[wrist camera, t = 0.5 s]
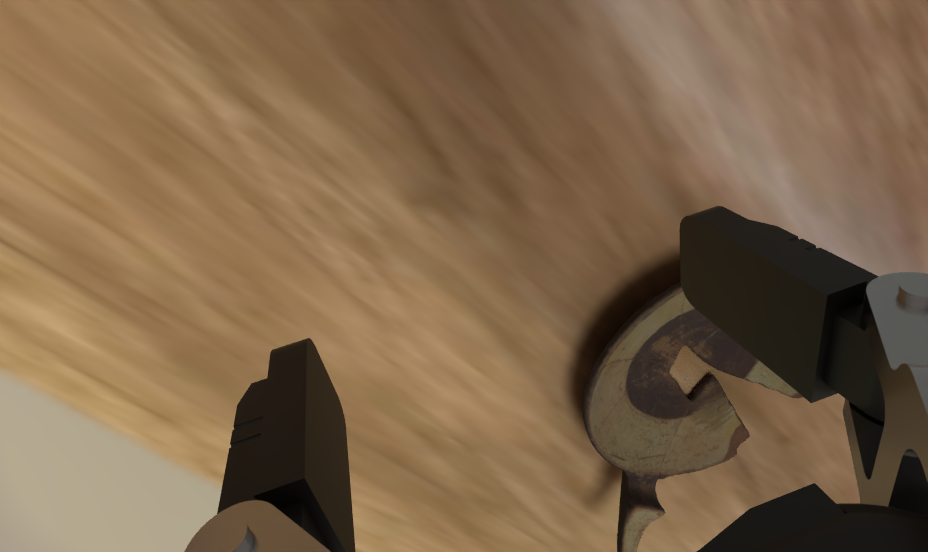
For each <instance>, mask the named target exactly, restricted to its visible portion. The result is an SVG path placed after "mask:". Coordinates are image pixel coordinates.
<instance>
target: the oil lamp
mask: <svg viewBox="0 0 928 552" xmlns="http://www.w3.org/2000/svg"><path fill="white" fill-rule="evenodd" d="M684 345H686V346H688V347H689V348H691V349H692V350H693V351H694V353H695V354H696V355H698V356H699V358H701V359H702V360H703V361H704V362H706V363H707V364H709V365H710V366H712V367H714V368H716V369H717V370H720V371H723V372H724V373H727V374H730V375H733V376H736V377H738V378H742V379H745V380H748V381H750V382H754V383H759V384H761V385H763V386H764V387H766V388H769V389H773V390H776V391H779V392H781V393H783V394H785V395H787V396H790V397H792V398H801V397H803V396H802V395H801V394H799V393H798V392H797V391H796V390H795V389H793V388H792V387H791V386H790V385H788V384H787V383H786V382H785V381H784V380H782V379H781V378H780V377H779V376H777V375H776V374H775V373H774V372H772V371H771V370H770V369H769V368H768V367H766V366H765V365H764V364H763V363H761V362H760V361H759V360H758V359H757V358H755V357H754V356H753V355H752V354H750V353H749V352H748V351H747V350H746V349H744V348H743V347H742V346H741V345H739V344H738V343H737V342H736V341H734V340H733V339H732V338H731V337H730V336H728V335H727V334H726V333H725V332H723V331H722V330H721V329H720V328H719V327H717V326H716V325H715V324H714V323H712V322H711V321H710V320H709V319H708V318H706V317H705V316H704V315H703V314H701V313H700V312H699V311H698V310H696V309H695V308H694V307H693V306H692V305H691V304H690V303H689V301H688V300H687V298H686V296H685V294H684V292H683V289H682V286H681V281H680V282H678V283H677V284H675V285H673V286H672V287H670V288H668V289H667V290H665V291H664V292H662V293H660V294H659V295H657V296H656V297H654V298H653V299H652V300H650V301H649V302H648V303H647V304H645V305H644V306H643V307H642V308H640V309H639V310H638V311H637V312H636V313H635V314H634V315H632V316H631V317H630V318H629V319H628V320H627V321H626V322H625V323H624V324H623V325H622V326H621V328H620V329H619V330H618V331H617V333H616V334H615V335H614V336H613V338H612V339H611V340H610V342H609V343H608V344H607V346H606V347H605V348H604V350H603V351H602V353H601V354H600V356H599V357H598V359H597V360H596V362H595V364H594V366H593V367H592V369H591V372H590V374H589V377H588V380H587V384H586V387H585V390H584V395H583V418H584V423H585V427H586V431H587V434H588V436H589V439H590V441H591V443H592V444H593V446H594V448H595V449H596V450H597V452H598V453H599V454H600V455H601V456H602V457H603V458H604V459H605V460H607V461H608V462H609V463H611V464H612V465H614V466H616V467H618V468H620V469H622V483H621V495H620V506H619V522H618V534H617V552H636V551H637V548H638V544H639V541H640V538H641V536H642V534H643V531H644V530H645V528H646V527H647V526H648V525H649V524H650V523H651V522H652V521H654V520H656V519H658V518H660V517H661V516H663V515H664V513H665V511H664V509H663V508H662V506H661V505H660V503H659V502H658V500H657V496H656V495H657V494H656V492H655V486H656V481H657V480H658V479H665V478H666V477H669V476H673V475H680V474H684V473H690V472H696V471H699V470H703V469H706V468H708V467H711V466H714V465H717V464H720V463H722V462H725V461H727V460H729V459H730V458H732V457H734V456H735V455H736V454H737V448H738V446H739V445H740V444H741V443H742V442H744V441H745V440H746V439H747V438H749V436H750V435H749V432H748V431H747V429H746V428H745V426H744V424H743V422H742V421H741V419H740V418H739V417H738V415H737V413H736V411H735V409H734V407H733V406H732V404H731V403H730V401H729V400H728V399H727V397H726V394H725V392H724V391H723V389H722V387H721V385H720V384H719V382H718V381H717V379H716V378H715V377H714V375H710V376H707V377H706V378H705V380H704V381H702V382H701V383H699V385H698V387H696V389H694V391H693V394H692V396H691V398H687V397H686V395H685V394H684V393H683V391H682V390H681V388H680V386H679V384H678V382H677V381H675V380H674V379H673V377H672V376H671V375H670V373H669V371H670V369H671V366H672V365H673V364H674V361H675V359H677V358H676V357H677V356H678V353H679V351H680V349H681V348H682V347H683V346H684ZM686 379H688V377H687V378H686ZM684 380H685V379H684Z"/></svg>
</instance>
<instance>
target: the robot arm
mask: <svg viewBox="0 0 928 552" xmlns="http://www.w3.org/2000/svg"><path fill="white" fill-rule="evenodd" d="M680 279H681V286H682V289H683V292H684V294H685V296H686V298H687V300H688V301H689V303H690V304H691V305H692V306H693V307H694V308H695V309H696V310H698V311H699V312H700V313H701V314H703V315H704V316H705V317H706V318H708V319H709V320H710V321H711V322H712V323H714V324H715V325H716V326H717V327H719V328H720V329H721V330H722V331H723V332H725V333H726V334H727V335H728V336H730V337H731V338H732V339H733V340H734V341H736V342H737V343H738V344H739V345H741V346H742V347H743V348H744V349H746V350H747V351H748V352H749V353H750V354H752V355H753V356H754V357H755V358H757V359H758V360H759V361H760V362H761V363H763V364H764V365H765V366H766V367H768V368H769V369H770V370H771V371H772V372H774V373H775V374H776V375H777V376H779V377H780V378H781V379H782V380H784V381H785V382H786V383H787V384H788V385H790V386H791V387H792V388H793V389H795V390H796V391H797V392H798V393H799V394H801V395H802V396H803V397H804V398H806V399H807V400H808V401H809V402H810V403H813V402H816V401H818V400H821V399H824V398H826V397H829V396H832V395H834V394H837V393H839V394H840V395H842V396H843V397H844V398H845V403H844V408H843V416H844V421H845V425H846V430H847V435H848V440H849V445H850V450H851V455H852V460H853V465H854V469H855V474H856V479H857V484H858V489H859V494H860V504H836V503H835V502H834V501H833V500H832V499H830V498H829V497H828V496H827V495H826V494H825V493H824V492H823V491H822V490H821V489H820V488H819V487H818V486H817V485H816V484H815V483H814V484H811V485H809V486H806V487H804V488H801V489H799V490H796V491H793V492H791V493H788V494H786V495H783V496H781V497H778V498H776V499H773V500H771V501H768V502H766V503H763V504H761V505H758V506H756V507H753V508H751V509H749V510H748V511H747V512H745V513H744V514H743V515H742V516H740V517H739V518H738V519H737V520H735V521H734V522H733V523H732V524H731V525H729V526H728V527H727V528H726V529H724V530H723V531H722V532H721V533H720V534H718V535H717V536H716V537H715V538H713V539H712V540H711V541H710V542H709V543H707V544H706V545H705V546H704V547H702V548H701V549H700V550H698V551H697V552H928V274H926V273H917V272H899V273H891V274H886V275H883V276H876V275H874V274H872V273H870V272H868V271H866V270H864V269H862V268H860V267H858V266H856V265H854V264H852V263H850V262H848V261H846V260H844V259H842V258H840V257H838V256H836V255H834V254H832V253H830V252H828V251H826V250H824V249H822V248H816V246H815V245H814V244H812V243H810V242H808V241H806V240H804V239H800V240H799V239H798V236H796V235H794V234H792V233H790V232H788V231H786V230H784V229H782V228H779V227H777V226H774V225H770V224H765V223H761V222H756V221H752V220H748V219H746V218H744V217H742V216H740V215H738V214H736V213H734V212H732V211H730V210H728V209H727V208H724V207H722V206H716V207H713V208H710V209H707V210H704V211H701V212H698V213H695V214H692V215H689V216H686V217H684V218H683V219H682V221H681V223H680ZM230 444H231V448H229V453H228V459H227V464H226V469H225V475H224V480H223V486H222V491H221V497H220V502H219V507H218V513H217V515H216V516H214V517H213V518H212V519H210V520H209V521H208V522H207V523H206V524H205V525H204V526H203V527H202V528H201V529H200V530H199V531H198V532H197V533H196V535H195V536H194V537H193V538H192V540H191V541H190V543H189V544H188V546H187V548H186V550H185V552H355V540H354V527H353V514H352V501H351V488H350V475H349V462H348V449H347V436H346V424H345V418H344V414H343V410H342V406H341V403H340V400H339V398H338V395H337V393H336V391H335V389H334V386H333V384H332V382H331V380H330V378H329V375H328V373H327V371H326V369H325V367H324V364H323V362H322V360H321V358H320V356H319V353H318V351H317V349H316V347H315V345H314V343H313V342H312V340H311V339H310V338H308V339H304V340H301V341H298V342H295V343H292V344H289V345H286V346H283V347H280V348H277V349H274V350H272V351H271V354H270V361H269V370H268V378H267V379H264V380H261V381H258V382H255V383H252V384H251V385H250V387H249V388H248V390H247V391H246V393H245V394H244V396H243V397H242V399H241V400H240V402H239V403H238V405H237V410H236V415H235V421H234V430H233V432H232V437H231V442H230Z"/></svg>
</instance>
